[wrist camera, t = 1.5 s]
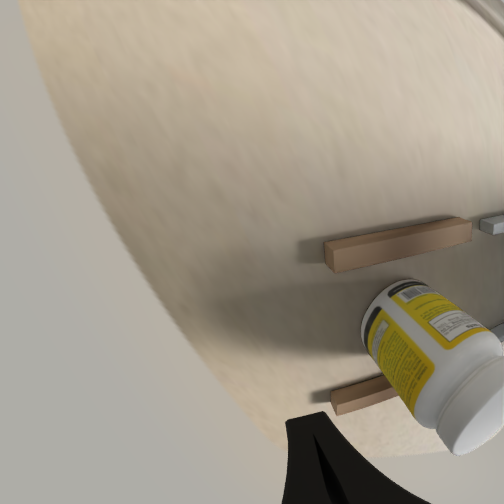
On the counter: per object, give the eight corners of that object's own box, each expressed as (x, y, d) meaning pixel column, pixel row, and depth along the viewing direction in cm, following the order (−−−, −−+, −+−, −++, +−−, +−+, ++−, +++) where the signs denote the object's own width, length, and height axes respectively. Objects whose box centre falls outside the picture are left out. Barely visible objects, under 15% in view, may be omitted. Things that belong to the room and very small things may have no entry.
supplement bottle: (384, 366, 16) (456, 470, 8) (341, 325, 15) (425, 452, 7) (442, 310, 15) (535, 392, 7) (409, 258, 14) (532, 343, 6)
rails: (457, 217, 14) (472, 222, 12) (439, 364, 17) (448, 374, 16) (323, 242, 13) (333, 250, 12) (330, 402, 16) (336, 416, 15)
